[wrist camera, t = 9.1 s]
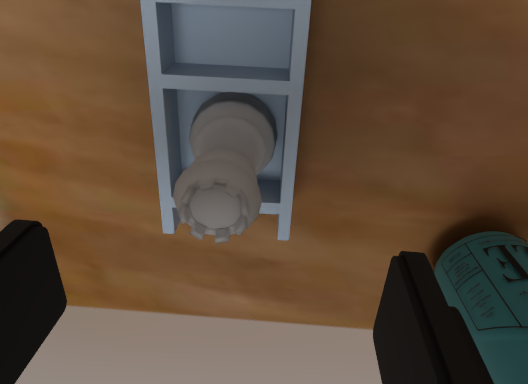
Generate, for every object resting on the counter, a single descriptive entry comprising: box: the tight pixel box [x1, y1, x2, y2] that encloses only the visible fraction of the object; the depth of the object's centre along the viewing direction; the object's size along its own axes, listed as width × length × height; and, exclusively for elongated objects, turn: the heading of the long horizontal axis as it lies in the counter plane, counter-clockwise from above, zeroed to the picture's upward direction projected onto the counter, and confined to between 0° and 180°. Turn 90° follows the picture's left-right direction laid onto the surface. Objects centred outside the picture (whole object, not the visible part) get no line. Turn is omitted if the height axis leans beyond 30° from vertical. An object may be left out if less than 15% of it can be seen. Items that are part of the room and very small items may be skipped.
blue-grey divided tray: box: [140, 0, 311, 240], centre depth 16 cm, size 7×18×10 cm, turn 178°
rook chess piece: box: [173, 92, 278, 243], centre depth 17 cm, size 4×4×8 cm
